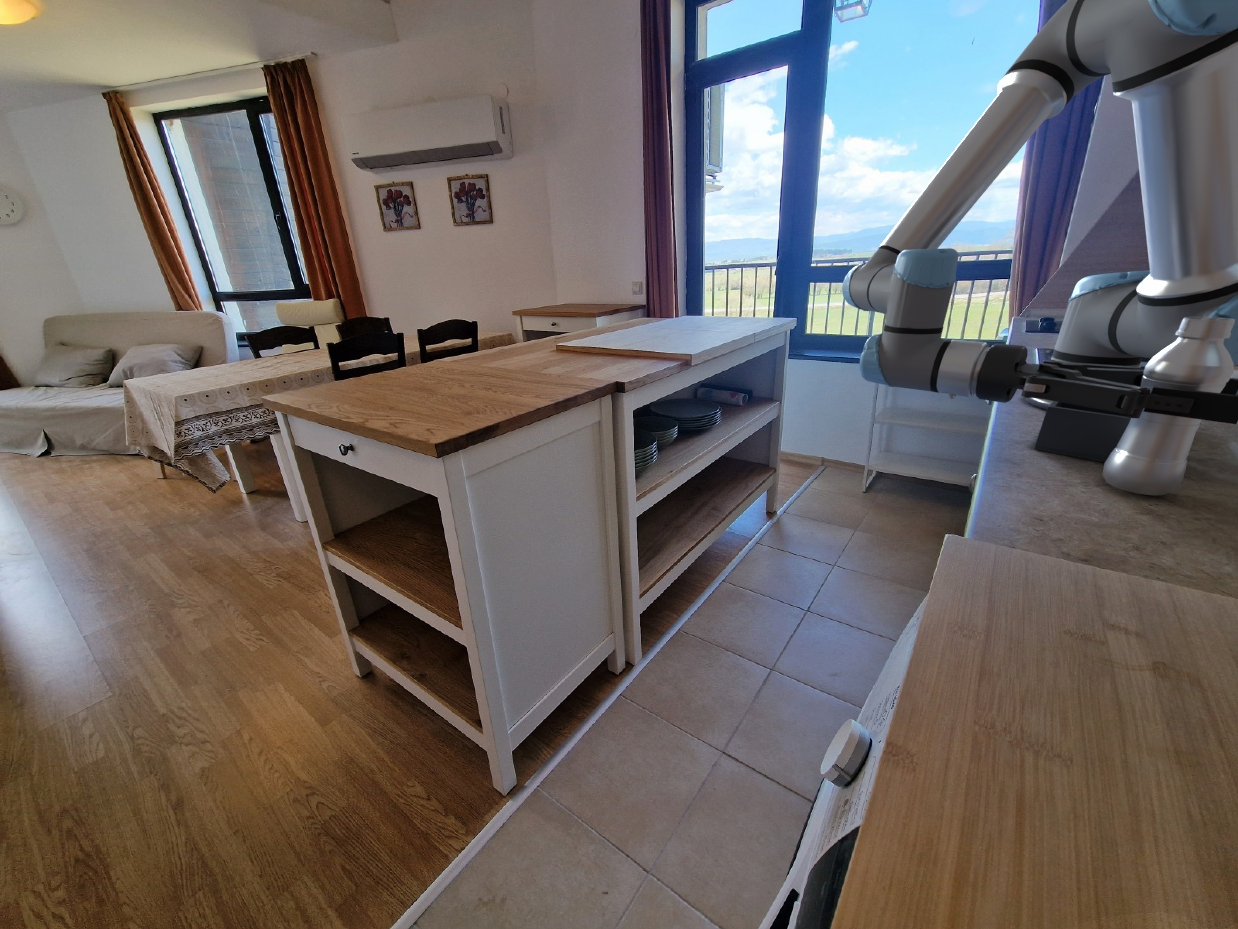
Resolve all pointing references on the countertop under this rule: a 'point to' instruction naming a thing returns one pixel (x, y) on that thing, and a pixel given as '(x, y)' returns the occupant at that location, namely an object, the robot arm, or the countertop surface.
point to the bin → (1081, 431)
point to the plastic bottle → (1164, 441)
